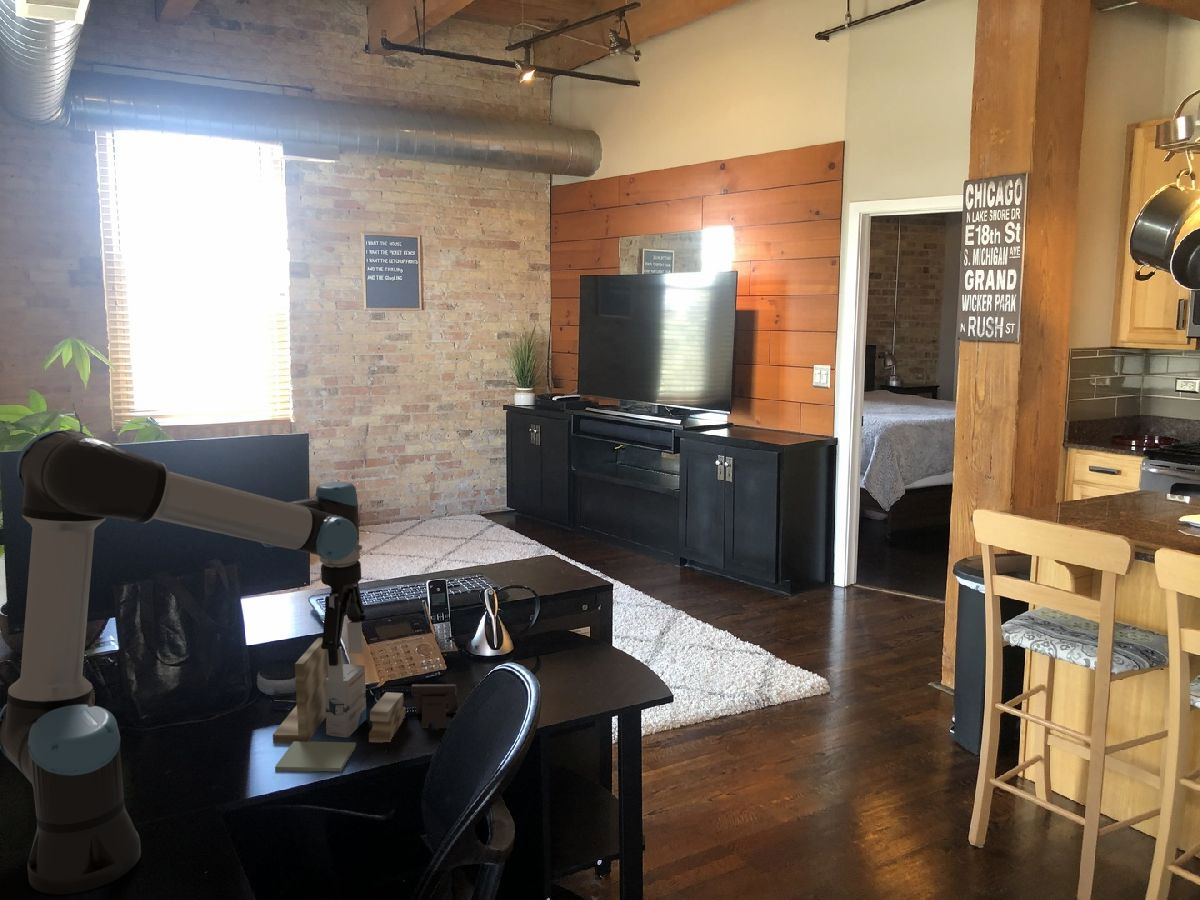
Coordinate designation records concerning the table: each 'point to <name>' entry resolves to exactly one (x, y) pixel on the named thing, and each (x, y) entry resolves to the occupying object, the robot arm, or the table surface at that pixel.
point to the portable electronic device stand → (435, 702)
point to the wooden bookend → (306, 697)
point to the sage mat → (316, 756)
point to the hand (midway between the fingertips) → (346, 666)
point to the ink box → (346, 702)
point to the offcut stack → (386, 717)
